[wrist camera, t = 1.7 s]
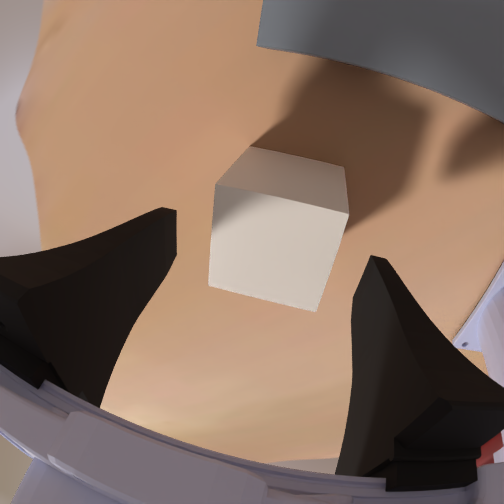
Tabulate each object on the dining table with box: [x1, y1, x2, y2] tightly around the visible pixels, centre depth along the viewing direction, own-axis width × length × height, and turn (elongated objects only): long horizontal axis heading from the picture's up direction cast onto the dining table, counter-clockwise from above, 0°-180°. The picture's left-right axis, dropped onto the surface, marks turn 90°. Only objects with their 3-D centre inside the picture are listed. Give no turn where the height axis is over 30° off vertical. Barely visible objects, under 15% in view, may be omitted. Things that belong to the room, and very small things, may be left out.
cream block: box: [208, 146, 349, 312], centre depth 14 cm, size 4×4×5 cm
